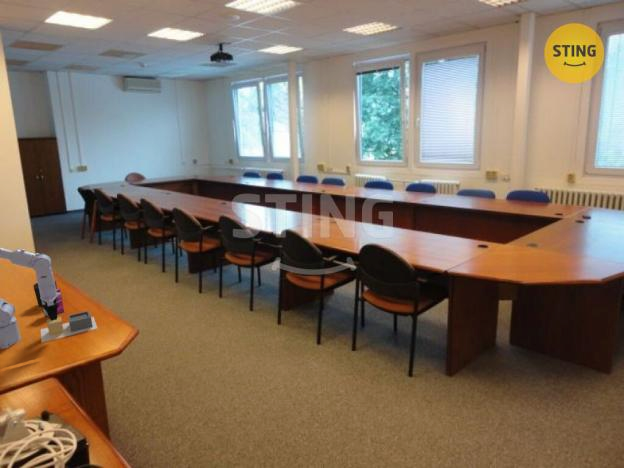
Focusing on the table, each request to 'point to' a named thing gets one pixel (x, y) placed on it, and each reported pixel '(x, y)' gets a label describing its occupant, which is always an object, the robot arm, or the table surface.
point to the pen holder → (37, 292)
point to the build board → (67, 332)
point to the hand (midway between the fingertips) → (53, 316)
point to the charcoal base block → (80, 321)
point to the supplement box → (60, 307)
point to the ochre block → (55, 326)
